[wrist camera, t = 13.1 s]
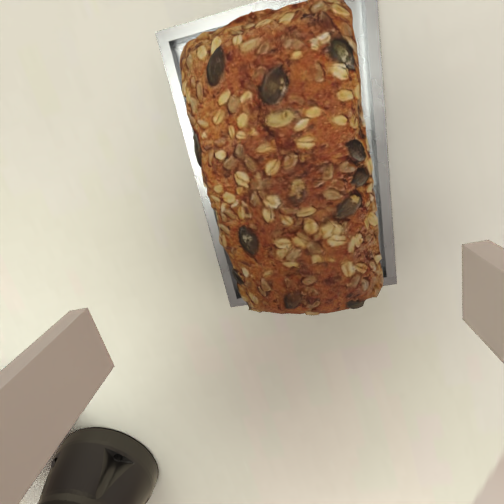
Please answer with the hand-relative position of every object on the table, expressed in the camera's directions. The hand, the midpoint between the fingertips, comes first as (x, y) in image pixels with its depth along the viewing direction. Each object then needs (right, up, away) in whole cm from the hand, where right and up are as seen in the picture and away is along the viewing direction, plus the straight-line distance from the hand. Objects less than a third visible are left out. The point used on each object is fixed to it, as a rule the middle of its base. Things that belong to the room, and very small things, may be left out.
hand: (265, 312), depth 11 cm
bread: (+2, +9, +16) cm, 19 cm away
